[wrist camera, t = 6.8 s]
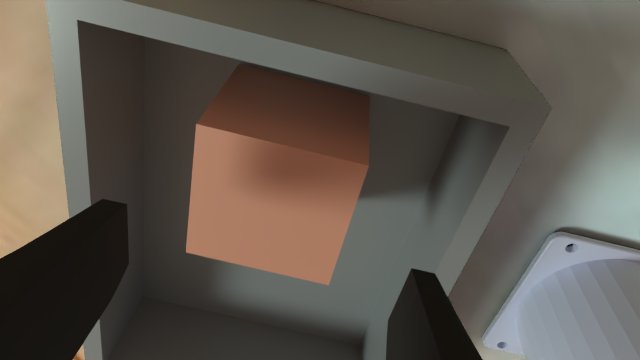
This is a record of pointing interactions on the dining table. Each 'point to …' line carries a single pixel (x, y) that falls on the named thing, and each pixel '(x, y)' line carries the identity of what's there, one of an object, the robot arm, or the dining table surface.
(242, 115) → the cube
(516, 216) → the dining table surface
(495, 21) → the dining table surface
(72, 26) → the tote
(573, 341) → the robot arm
